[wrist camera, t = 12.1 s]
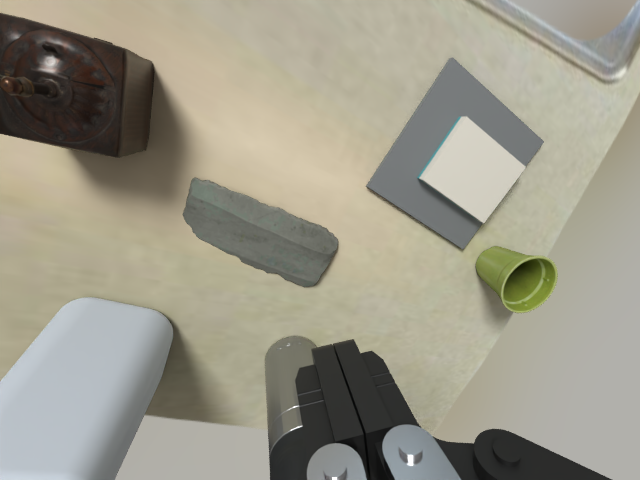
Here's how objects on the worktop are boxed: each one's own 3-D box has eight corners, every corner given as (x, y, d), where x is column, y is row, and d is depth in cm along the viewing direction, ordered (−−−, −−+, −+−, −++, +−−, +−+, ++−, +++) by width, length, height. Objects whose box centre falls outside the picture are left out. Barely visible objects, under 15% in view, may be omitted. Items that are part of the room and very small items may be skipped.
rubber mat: (539, 141, 51) (544, 141, 51) (460, 247, 55) (463, 249, 54) (449, 58, 45) (452, 57, 44) (366, 186, 48) (367, 187, 48)
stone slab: (311, 283, 54) (341, 233, 51) (312, 293, 52) (344, 241, 48) (173, 230, 47) (197, 168, 44) (167, 238, 45) (192, 173, 42)
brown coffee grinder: (156, 56, 39) (83, 8, 22) (148, 152, 42) (79, 173, 25) (-5, 11, 35) (-243, -90, 18) (0, 120, 38) (-199, 121, 21)
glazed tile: (459, 116, 47) (517, 165, 51) (417, 177, 49) (476, 220, 53) (466, 116, 45) (526, 167, 49) (423, 179, 47) (483, 223, 51)
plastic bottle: (66, 287, 45) (-183, 509, 19) (181, 310, 50) (103, 518, 24) (50, 375, 49) (-175, 659, 23) (158, 390, 54) (69, 644, 28)
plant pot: (524, 243, 57) (569, 263, 49) (500, 291, 60) (538, 317, 52) (481, 230, 55) (520, 250, 47) (457, 281, 57) (491, 307, 49)
